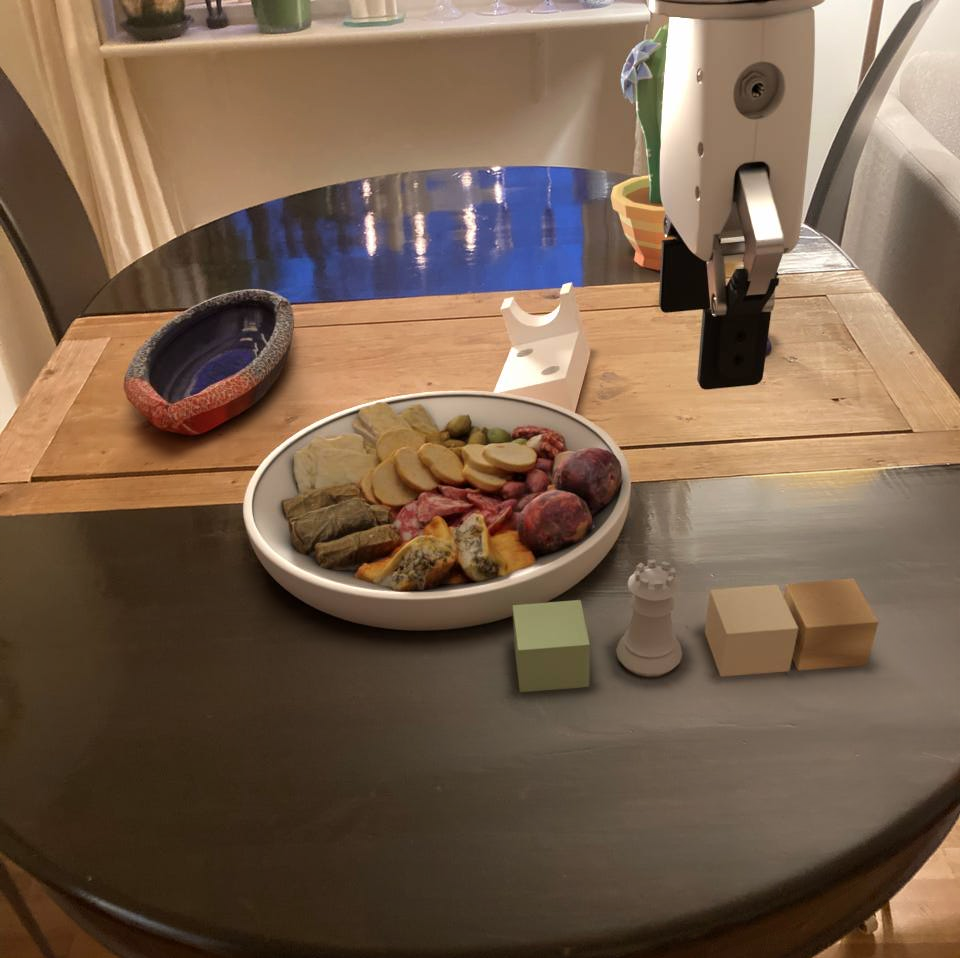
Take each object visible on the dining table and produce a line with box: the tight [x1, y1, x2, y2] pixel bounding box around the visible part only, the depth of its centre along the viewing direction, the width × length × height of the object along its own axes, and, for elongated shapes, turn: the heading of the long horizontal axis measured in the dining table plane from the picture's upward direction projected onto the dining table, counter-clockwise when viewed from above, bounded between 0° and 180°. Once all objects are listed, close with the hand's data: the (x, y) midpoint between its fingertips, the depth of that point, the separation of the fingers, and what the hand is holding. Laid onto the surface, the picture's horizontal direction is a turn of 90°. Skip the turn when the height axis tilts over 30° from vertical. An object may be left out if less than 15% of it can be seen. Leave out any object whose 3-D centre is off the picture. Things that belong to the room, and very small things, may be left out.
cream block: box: [704, 584, 798, 677], centre depth 62 cm, size 4×4×4 cm
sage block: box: [512, 599, 591, 693], centre depth 62 cm, size 4×4×4 cm
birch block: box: [783, 578, 879, 671], centre depth 62 cm, size 4×4×4 cm
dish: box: [123, 288, 295, 436], centre depth 99 cm, size 16×31×5 cm, turn 172°
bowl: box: [242, 390, 632, 632], centre depth 75 cm, size 30×30×8 cm
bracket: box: [493, 281, 591, 413], centre depth 93 cm, size 13×7×8 cm, turn 169°
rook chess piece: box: [615, 559, 683, 678], centre depth 61 cm, size 4×4×8 cm
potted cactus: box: [610, 23, 673, 271], centre depth 112 cm, size 15×15×25 cm
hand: (706, 344), depth 52 cm, fingers open, 9 cm apart
